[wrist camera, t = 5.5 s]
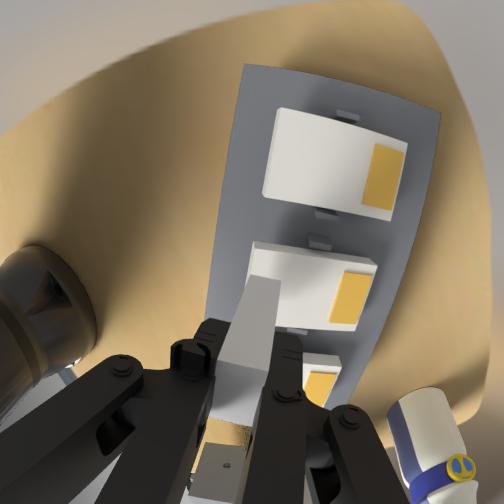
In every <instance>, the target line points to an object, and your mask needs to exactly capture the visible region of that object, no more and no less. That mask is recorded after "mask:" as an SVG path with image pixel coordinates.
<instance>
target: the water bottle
mask: <svg viewBox="0 0 504 504" xmlns="http://www.w3.org/2000/svg"><path fill="white" fill-rule="evenodd" d="M386 420H387V424H388V427H389V430H390V433H391V436H392V439H393V443H394V446H395V450H396V454H397V458H398V462H399V466H400V471H401V475H402V478H403V481H404V483H405V484H406V486H407V487H408V488H409V491H410V496H411V501H412V504H477V502H476V491H477V488H478V483H477V481H474V480H473V477H474V476H475V472H476V468H475V464H474V462H473V461H472V460H471V459H470V458H469V457H468V456H467V454H466V449H465V446H464V443H463V440H462V437H461V435H460V432H459V430H458V427H457V425H456V422H455V420H454V417H453V415H452V412H451V409H450V407H449V404H448V401H447V399H446V396H445V394H444V392H443V391H442V390H441V389H439V388H435V387H426V388H421V389H418V390H415V391H413V392H410V393H408V394H407V395H405V396H403V397H402V398H401V399H399V400H398V401H397V402H396V403H395V404H394V405H393V406H392V407H391V408H390V410H389V412H388V414H387V418H386Z"/></svg>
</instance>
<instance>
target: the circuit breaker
mask: <svg viewBox="0 0 504 504" xmlns="http://www.w3.org/2000/svg"><path fill="white" fill-rule="evenodd" d="M251 430H252V427H249V431H248V439H247V441H246V446H247V443H248V440H249V436H250V433H251ZM246 446H245V447H243V446H233V445H224V444H216V443H209V442H206V443H205V445H204V448H203V451H202V454H201V457H200V460H199V463H198V466H197V469H196V472H195V473H190V476H189V479H188V482H187V485H186V486H187V489H188V491H189V494H188V496H189V498H190V500H191V502H192V504H235V500H236V495H237V491H238V486H239V482H240V477H241V473H242V468H243V464H244V459H245V454H246V451H245V449H246ZM303 504H312V499H311V495H310V491H309V487H308V484H307V480H306V476H305V484H304V501H303Z"/></svg>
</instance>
